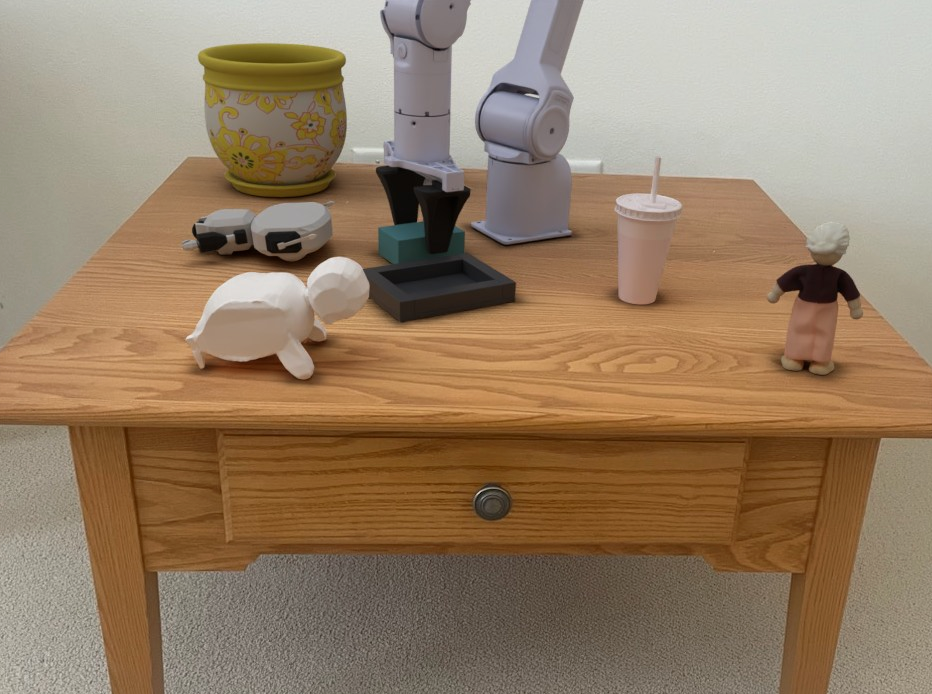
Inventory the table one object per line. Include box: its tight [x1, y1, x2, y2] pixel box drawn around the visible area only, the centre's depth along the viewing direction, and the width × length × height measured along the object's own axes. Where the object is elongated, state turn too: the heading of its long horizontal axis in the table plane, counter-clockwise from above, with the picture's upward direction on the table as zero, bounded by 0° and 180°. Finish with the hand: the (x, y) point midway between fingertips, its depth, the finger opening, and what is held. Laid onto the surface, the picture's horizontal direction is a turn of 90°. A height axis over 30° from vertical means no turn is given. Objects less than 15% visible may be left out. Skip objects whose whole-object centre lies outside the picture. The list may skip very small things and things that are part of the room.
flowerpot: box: [197, 42, 348, 198], centre depth 123 cm, size 18×18×16 cm
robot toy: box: [181, 200, 335, 262], centre depth 102 cm, size 12×4×15 cm
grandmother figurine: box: [766, 220, 864, 376], centre depth 80 cm, size 8×4×13 cm, turn 81°
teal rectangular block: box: [377, 221, 466, 265], centre depth 103 cm, size 8×5×3 cm, turn 120°
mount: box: [362, 252, 517, 323], centre depth 94 cm, size 12×10×2 cm
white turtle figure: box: [185, 256, 370, 381], centre depth 78 cm, size 9×8×15 cm
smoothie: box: [614, 156, 683, 305], centre depth 92 cm, size 6×6×14 cm
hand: (421, 241), depth 103 cm, fingers open, 7 cm apart
